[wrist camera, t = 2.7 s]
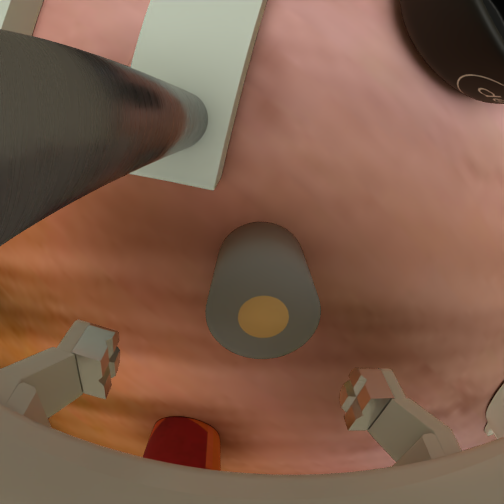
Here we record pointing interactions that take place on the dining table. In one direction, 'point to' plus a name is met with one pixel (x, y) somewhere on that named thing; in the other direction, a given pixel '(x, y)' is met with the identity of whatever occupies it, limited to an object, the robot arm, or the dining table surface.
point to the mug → (461, 43)
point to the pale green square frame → (185, 69)
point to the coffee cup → (184, 443)
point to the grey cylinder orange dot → (262, 293)
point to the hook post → (79, 126)
